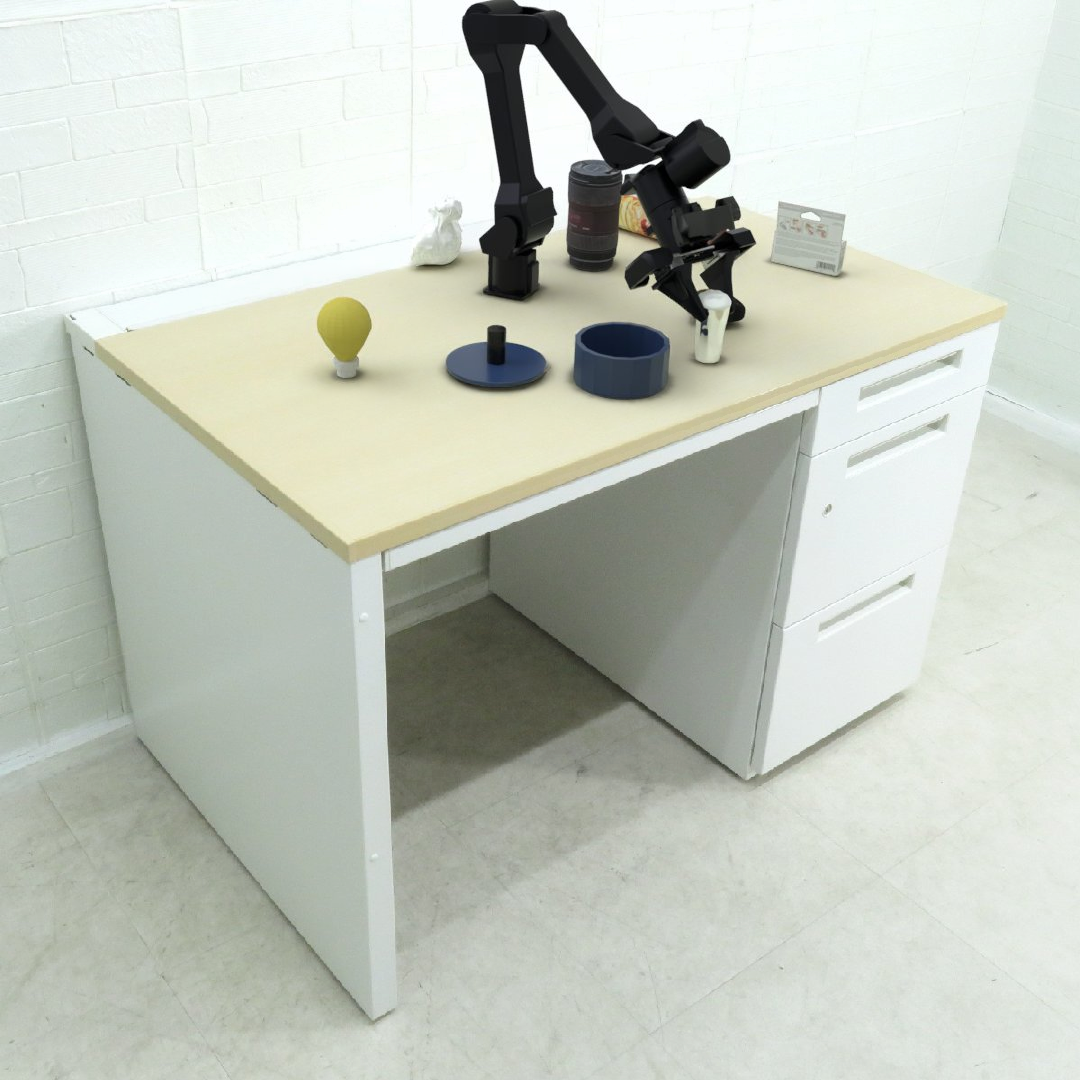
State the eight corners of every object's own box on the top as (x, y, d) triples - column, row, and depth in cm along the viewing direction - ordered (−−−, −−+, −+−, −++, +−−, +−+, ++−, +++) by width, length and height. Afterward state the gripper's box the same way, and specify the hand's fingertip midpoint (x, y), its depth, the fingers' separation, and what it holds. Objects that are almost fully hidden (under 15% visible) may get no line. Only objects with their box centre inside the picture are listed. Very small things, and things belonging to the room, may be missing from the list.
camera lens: (556, 267, 197) (560, 169, 189) (575, 251, 203) (580, 156, 196) (606, 276, 195) (612, 177, 187) (624, 260, 201) (631, 163, 193)
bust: (420, 287, 194) (460, 237, 187) (385, 250, 194) (424, 199, 187) (459, 263, 203) (499, 215, 196) (425, 228, 203) (464, 178, 196)
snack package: (728, 250, 206) (733, 209, 203) (703, 260, 202) (708, 218, 199) (625, 218, 218) (628, 178, 215) (600, 226, 214) (602, 186, 210)
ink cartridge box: (775, 257, 204) (784, 196, 199) (842, 273, 199) (852, 210, 194) (769, 262, 202) (777, 200, 197) (836, 277, 198) (846, 214, 192)
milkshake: (681, 351, 171) (688, 279, 166) (720, 350, 172) (729, 279, 166) (687, 366, 168) (694, 293, 162) (727, 365, 168) (736, 293, 163)
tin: (558, 387, 161) (560, 347, 158) (594, 353, 170) (596, 315, 168) (647, 406, 157) (651, 366, 154) (678, 370, 167) (682, 332, 164)
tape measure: (745, 327, 180) (749, 302, 178) (700, 332, 178) (703, 306, 176) (724, 309, 185) (727, 284, 183) (680, 313, 183) (683, 288, 181)
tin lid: (427, 378, 162) (427, 336, 159) (473, 342, 172) (473, 302, 169) (520, 399, 158) (521, 356, 155) (561, 361, 168) (563, 320, 165)
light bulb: (350, 390, 158) (346, 313, 153) (308, 376, 161) (303, 300, 156) (384, 371, 163) (381, 296, 158) (342, 358, 166) (339, 284, 161)
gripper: (647, 188, 155) (701, 304, 154) (755, 165, 165) (807, 274, 164) (600, 232, 164) (651, 343, 163) (705, 208, 174) (754, 312, 173)
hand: (717, 317), depth 166 cm, fingers closed on milkshake, 4 cm apart
